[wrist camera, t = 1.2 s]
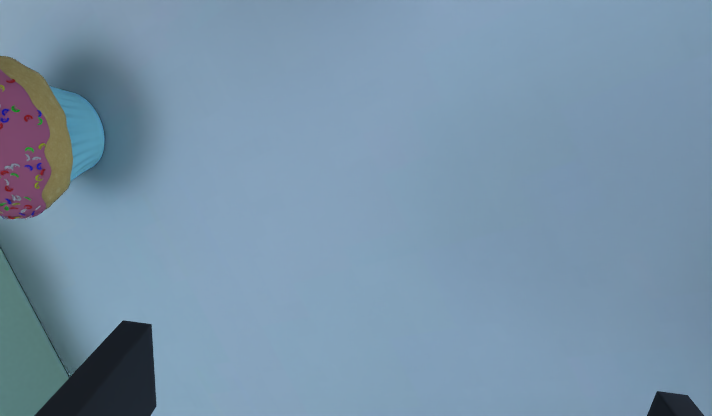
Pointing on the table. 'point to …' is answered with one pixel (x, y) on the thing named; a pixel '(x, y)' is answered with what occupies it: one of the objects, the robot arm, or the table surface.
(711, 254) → the table surface
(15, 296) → the lunchbox
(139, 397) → the robot arm
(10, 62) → the cupcake
